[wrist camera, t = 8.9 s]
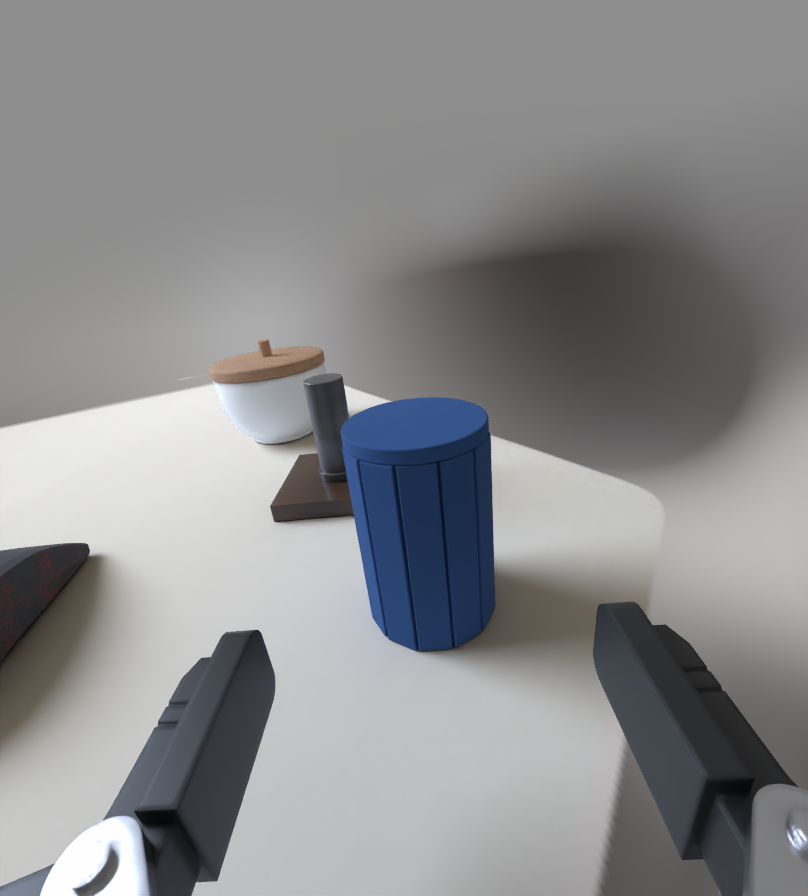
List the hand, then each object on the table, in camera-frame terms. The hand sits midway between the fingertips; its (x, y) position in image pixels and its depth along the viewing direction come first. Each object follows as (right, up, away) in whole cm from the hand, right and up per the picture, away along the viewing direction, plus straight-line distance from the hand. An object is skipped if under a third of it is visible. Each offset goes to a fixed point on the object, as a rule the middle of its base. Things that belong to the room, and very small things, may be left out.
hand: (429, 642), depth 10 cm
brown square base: (-5, +2, +21) cm, 22 cm away
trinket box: (-13, +6, +33) cm, 36 cm away
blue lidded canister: (+1, -2, +10) cm, 10 cm away
